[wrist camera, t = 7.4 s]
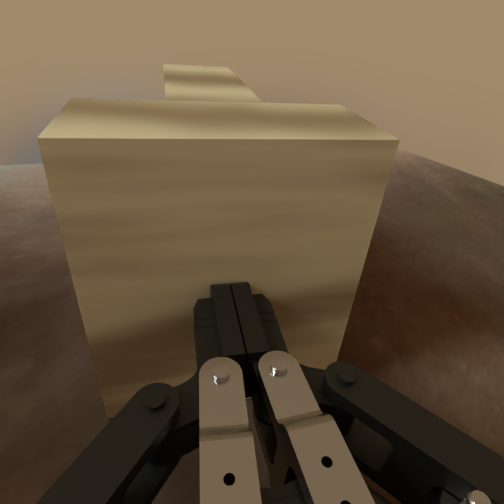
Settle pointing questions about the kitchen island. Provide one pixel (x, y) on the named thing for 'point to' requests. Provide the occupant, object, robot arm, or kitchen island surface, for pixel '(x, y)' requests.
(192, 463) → the kitchen island surface
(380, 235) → the kitchen island surface
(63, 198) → the t block
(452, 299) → the kitchen island surface
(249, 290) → the robot arm
